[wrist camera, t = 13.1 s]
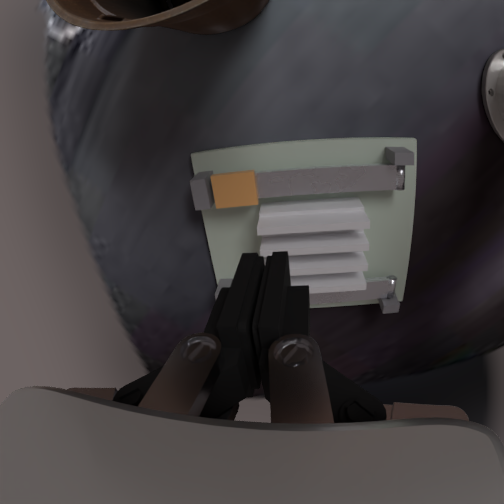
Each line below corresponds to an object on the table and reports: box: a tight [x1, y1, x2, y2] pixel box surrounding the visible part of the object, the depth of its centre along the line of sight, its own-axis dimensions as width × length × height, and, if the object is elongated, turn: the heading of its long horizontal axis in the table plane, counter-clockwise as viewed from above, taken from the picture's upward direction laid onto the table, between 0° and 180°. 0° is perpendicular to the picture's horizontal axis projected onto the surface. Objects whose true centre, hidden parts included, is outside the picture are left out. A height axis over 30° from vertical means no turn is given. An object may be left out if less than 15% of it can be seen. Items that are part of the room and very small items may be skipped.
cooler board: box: [190, 137, 417, 314], centre depth 31 cm, size 23×20×6 cm
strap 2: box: [309, 275, 397, 304], centre depth 34 cm, size 19×3×2 cm, turn 97°
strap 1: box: [211, 163, 405, 209], centre depth 28 cm, size 19×3×2 cm, turn 97°
